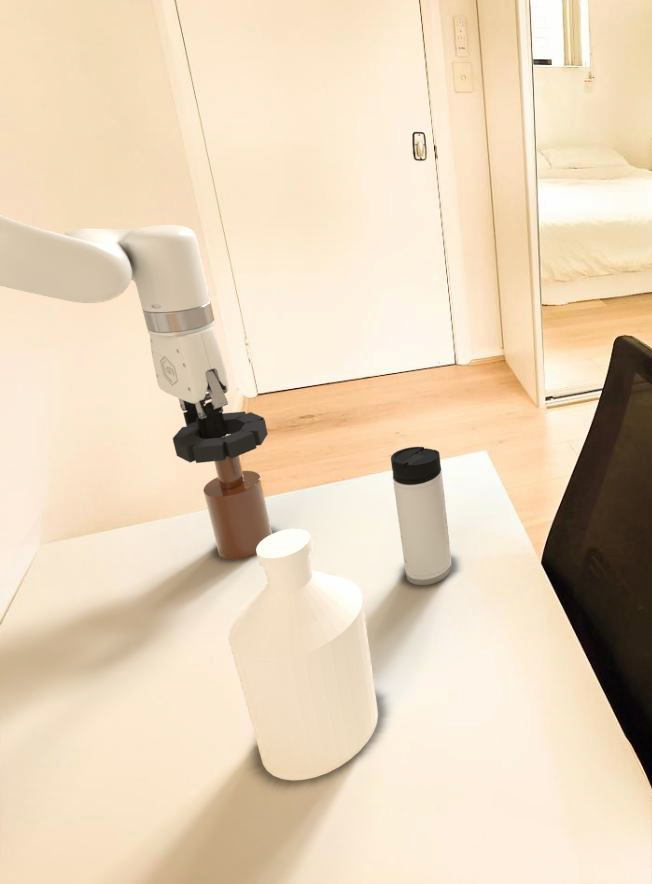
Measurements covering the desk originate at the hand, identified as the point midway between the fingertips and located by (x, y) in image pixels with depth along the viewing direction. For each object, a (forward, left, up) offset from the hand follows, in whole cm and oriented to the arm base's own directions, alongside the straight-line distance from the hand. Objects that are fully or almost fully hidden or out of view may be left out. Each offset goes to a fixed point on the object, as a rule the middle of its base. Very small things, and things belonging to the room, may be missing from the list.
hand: (208, 435), depth 100 cm
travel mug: (+10, -32, -18) cm, 38 cm away
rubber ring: (0, -4, 0) cm, 4 cm away
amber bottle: (0, -4, -18) cm, 18 cm away
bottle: (-14, -43, -18) cm, 49 cm away
